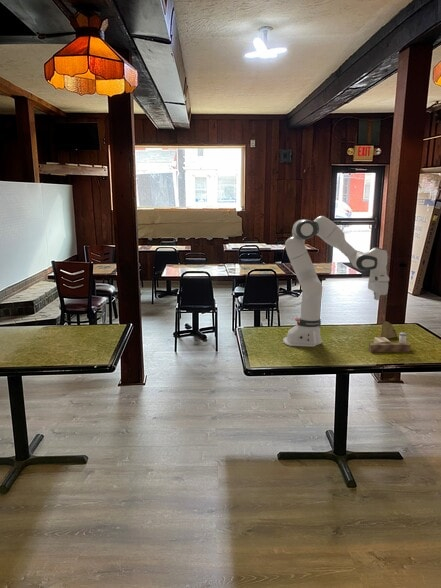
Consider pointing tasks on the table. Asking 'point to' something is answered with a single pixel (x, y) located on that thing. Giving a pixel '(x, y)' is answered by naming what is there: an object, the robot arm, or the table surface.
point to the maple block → (381, 340)
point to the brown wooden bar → (389, 347)
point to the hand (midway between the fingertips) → (376, 299)
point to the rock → (388, 330)
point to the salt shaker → (402, 337)
